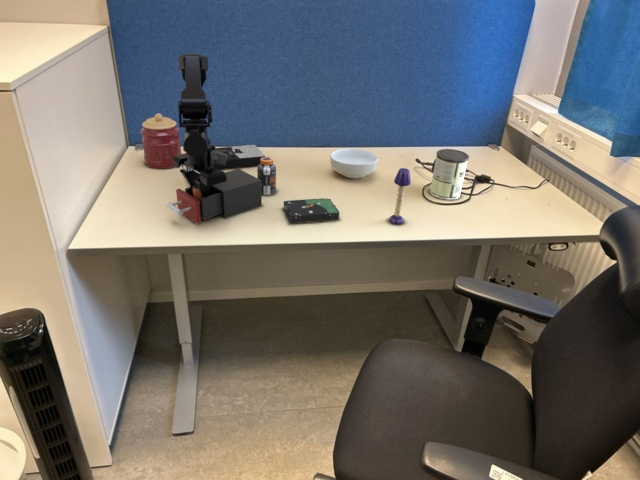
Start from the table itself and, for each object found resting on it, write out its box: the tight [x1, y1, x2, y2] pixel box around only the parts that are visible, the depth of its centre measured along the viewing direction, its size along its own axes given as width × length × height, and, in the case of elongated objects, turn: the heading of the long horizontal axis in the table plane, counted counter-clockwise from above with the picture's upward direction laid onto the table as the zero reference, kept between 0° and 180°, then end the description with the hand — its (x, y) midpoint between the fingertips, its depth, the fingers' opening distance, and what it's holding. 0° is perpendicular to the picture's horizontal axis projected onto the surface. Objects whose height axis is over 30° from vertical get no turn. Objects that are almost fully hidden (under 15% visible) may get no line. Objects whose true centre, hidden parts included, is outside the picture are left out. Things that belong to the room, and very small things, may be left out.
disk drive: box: [283, 198, 340, 224], centre depth 140 cm, size 10×3×15 cm
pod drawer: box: [166, 186, 223, 225], centre depth 134 cm, size 17×10×7 cm, turn 134°
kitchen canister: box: [140, 113, 182, 169], centre depth 165 cm, size 13×13×18 cm
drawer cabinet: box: [211, 168, 263, 219], centre depth 141 cm, size 13×11×8 cm
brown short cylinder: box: [193, 184, 209, 204], centre depth 133 cm, size 4×4×4 cm
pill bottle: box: [256, 156, 277, 196], centre depth 150 cm, size 6×6×11 cm
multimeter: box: [212, 144, 266, 171], centre depth 172 cm, size 13×19×5 cm
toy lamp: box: [388, 167, 411, 226], centre depth 135 cm, size 5×5×17 cm
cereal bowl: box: [329, 148, 379, 179], centre depth 168 cm, size 17×17×7 cm
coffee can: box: [429, 148, 470, 201], centre depth 156 cm, size 10×10×14 cm
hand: (201, 196), depth 133 cm, fingers closed on brown short cylinder, 4 cm apart
